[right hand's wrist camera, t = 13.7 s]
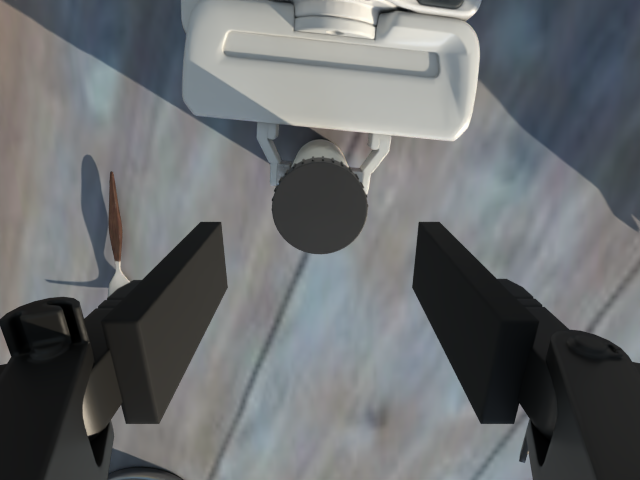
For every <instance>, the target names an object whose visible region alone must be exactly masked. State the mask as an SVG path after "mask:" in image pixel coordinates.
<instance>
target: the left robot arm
mask: <svg viewBox="0 0 640 480" xmlns="http://www.w3.org/2000/svg"><path fill="white" fill-rule="evenodd" d="M481 1H482V0H271V1H270V0H181V21H182V26H183V29H184V32H185V34H186V41H185V49H184V59H183V75H182V97H183V101H184V103H185V104H186V105H187V107H188V108H189V109H190V111H191V112H192V113H193V114H194V115H196V116H203V117H213V118H223V119H234V120H244V121H254V122H257V140H258V142H259V144H260V146H261V148H262V150H263V152H264V154H265V156H266V158H267V160H268V162H269V163H271V168H270V185H271V186H277V185H279V183H278V182H279V180H280V178H281V176H282V177H283V176H284V175H285V172H286V170H287V169H288V170H289V169H290V168H291V164H292V162H290V161H281V158H280V155H279V153H278V151H277V149H276V147H275V145H274V143H273V141H272V140H274V139H276V138H277V137H278V136H279V124H284V125H294V126H304V127H314V128H324V129H334V130H344V131H354V132H364V133H369V137H368V146H369V147H370V148H371V149H373V150H372V152H371V153H370V154H369V156H368V157H367V159H366V160H365V161H364V163H363V164H362V165H361V167H360V168H352V167H351V169H352V171H353V173H354V174H357V175H358V177H359V181H360V182H362V184H363V186H364V188H363V189H364V191H365V193H366V195H367V193H368V189H369V182H370V175H371V173H373V171H374V170H375V169H376V168H377V166H378V165H379V164H380V162H381V161H382V160H383V159H384V157H385V156H386V155H387V154H388V152H389V149H390V143H391V136H392V135H394V136H404V137H414V138H425V139H435V140H445V141H454V140H456V139H457V138H458V137H459V136H461V135H462V134H463V133H464V131H465V130H466V129H467V128H468V126H469V123H470V120H471V116H472V111H473V106H474V101H475V95H476V88H477V81H478V72H479V60H480V47H479V41H478V37H477V35H476V33H475V31H474V29H473V28H472V27H471V26H470V25H469V24H468V23H466V22H465V21H467V20H468V19H469V18H470V17H472V16H473V15H474V14H475V13H476V12H477V10H478V9H479V7H480V4H481Z"/></svg>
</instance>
